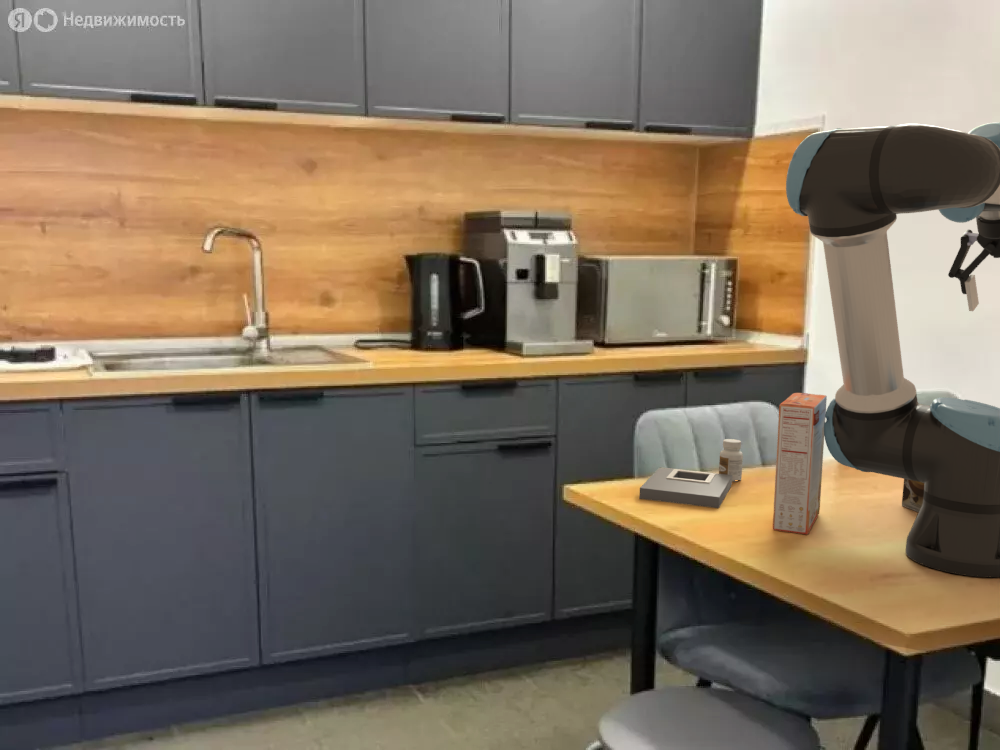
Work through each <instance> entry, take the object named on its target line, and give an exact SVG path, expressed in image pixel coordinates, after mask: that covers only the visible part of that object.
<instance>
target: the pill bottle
mask: <svg viewBox="0 0 1000 750" xmlns="http://www.w3.org/2000/svg"><path fill="white" fill-rule="evenodd" d="M722 448H723V449H722V450H721V451H720V453H719V465H718V474H727V475H732V482H736V481H735V480H740V481H741V480H742V475H743V460H744V459H743V458H744V457H743V456H744V454H743V452H742V451H741V449H742V441H741V440H739V439H733V438H726V439H723V441H722Z"/></svg>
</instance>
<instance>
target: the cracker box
mask: <svg viewBox="0 0 1000 750" xmlns="http://www.w3.org/2000/svg"><path fill="white" fill-rule="evenodd" d="M827 400H828V399H827V395H825V394H815V393H806V392H805V393H804V392H793V393H791V394H790V395H789V396H788V397H787V398H786V399H785V400H784V401H782V402H781V403H780V404H779V405H778V422H777V440H776V441H777V442H776V444H777V445H776V459H775V475H774V476H775V477H774V478H775V479H774V497H773V517H772V531H777V532H785V533H792V534H799V535H809V533H810V531H811V529H812V528H813V526H814V524H815V522H816V520H817V519H818V516H819V514H820V510H821V497H822V496H821V495H822V494H821V493H822V482H823V481H822V479H823V478H822V477H823V464H824V463H823V461H824V460H823V459H824V449H825V448H824V446H825V445H824V444H825V436H824V423H825V422H826V417H825V414H826V411H827Z"/></svg>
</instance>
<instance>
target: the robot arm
mask: <svg viewBox="0 0 1000 750" xmlns="http://www.w3.org/2000/svg"><path fill="white" fill-rule="evenodd" d="M785 182H786V183H785V190H786V191H785V193H786V198H787V199H786V200H787V203H788V206H789V207H790V209H792V211H793V212H794V213H796V215H800V216H801V217H807V219H808V225H809V230H810V231H809V232H810V234H811V236H813V237H815V238H816V239H818V240H819V241H822V243H823V252H824V258H825V265H826V270H827V280H828V285H829V292H830V298H831V306H832V313H833V321H834V327H835V333H836V334H835V335H836V340H837V347H838V354H839V355H838V356H839V362H840V369H841V375H842V382H843V383H842V385H841V386H840V387H839V388H838V390H836V392H835V394H834V395H835V396H834V398H833V399H832V400H831V401H830V403H829V404H828V406H827V407H826V414H825V417H826V418H825V423H824V442H825V444H826V447H827V450H828V452H829V453H830V455H831V456H832V458H833V459H834V460H835V461H836V462H838V463H839V464H841V465H843V466H844V467H848V468H853V469H854V470H858V471H861V472H862V473H874V474H878V475H879V474H880V475H883V476H884V475H885V476H889V477H894V478H900V479H903V480H904V479H908V480H913V481H918V482H922V483H924V496H923V504H922V507H921V509H920V511H919V512H917V516H916V518H915V520H914V522H913V523H912V527H911V528H910V530H909V533H908V535H907V537H906V544H905V554H906V556H907V557H909V558H910V559H911V560H913V561H914V562H916V563H917V564H920V565H923V566H926V567H928V568H931V569H934V570H938V571H942V572H946V573H951V574H956V575H963V576H969V577H979V578H1000V407H998V406H995V405H990V404H987V403H983V402H980V401H975V400H970V399H961V398H957V397H947V396H946V397H936V398H934V399H933V400H932V402H931V403H930V405H928V404H924V403H923V404H922V403H919V402H918V396H917V388H916V386H915V384H914V383H913V382H912V381H910V380H908V379H907V378H905V376H904V369H903V361H902V351H901V342H900V335H899V334H900V333H899V326H898V317H897V310H896V300H895V292H894V283H893V275H892V268H891V267H892V265H891V257H890V249H889V241H888V231H889V229H890V228H892V226H893V225H894V224H895V223H896V221H897V218H898V216H897V215H898V214H900V215H901V214H914V213H923V212H931V211H939V213H940V214H941V215H942V216H943V217H944V218H945V219H947V220H948V221H951V222H955V223H962V224H964V223H968V222H971V221H972V220H974V219H975V221H976V227H977V232H978V233H974V232H973V230H971V229H967V230H965V232H963V234H962V236H961V237H960V247H959V250H958V252H957V253H956V256H955V258H954V260H953V262H952V265H951V267H950V269H949V271H948V274H947V276H948V277H949V278H952V279H954V278H955V279H958V281H959V283H960V289H961V293H962V295H966V300H967V306H968V312H974V311H975V309H976V308H977V307H978V305H979V304H980V303H979V296H978V295H979V294H978V289H977V282H976V275H975V274H972V273H973V272H974V271H975V270H976V269H977V268H978V267H979V265H981V263H982V262H984V261H985V260H986V258H987V257H988V256H989V255H990V256H991V257H993V258H994V259H1000V122H989V123H985V124H981V125H978V126H976V127H974V128H972V129H971V130H970V131H968V132H966V131H961V130H957V129H952V128H948V127H941V126H937V125H931V124H923V123H921V124H920V123H904V124H898V125H897V124H895V125H887V126H886V125H885V126H884V125H883V126H871V127H870V126H869V127H867V126H866V127H855V128H854V127H852V128H840V127H839V128H838V127H837V128H835V129H832V130H831V129H830V130H827V131H826V130H825V131H819V132H814V133H811V134H810V135H808V136H807V137H805V138H804V139H803V140H802V141H801V142H800V143H799V145H797V147H796V149H795V150H794V153H793V155H792V157H791V160H790V162H789V164H788V168H787V173H786V180H785ZM975 242H977V244H979V245H980V246H981V248H982V249H981V251H980V252H979V253H978V254H977V256H975V257H974V259H973V260H972V261H971V262H970V263H969V264H968V265H967V266H966V267H965V268H964V269H962V266H963V264H964V262H965V259H966V258H967V255H968V253H969V250H970V249H971V247H972V246H973V245H974V243H975Z"/></svg>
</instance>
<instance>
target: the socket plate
mask: <svg viewBox="0 0 1000 750" xmlns="http://www.w3.org/2000/svg"><path fill="white" fill-rule="evenodd" d="M731 485H732V486H733V481H732V475H727V474H719V472H718V473H716V472H709V471H708V472H707V471H697V470H691V469H690V470H688V469H679V468H671V467H670V468H669V467H662V466H661V467H660V466H659V467H658V469H656V470H655V471H654V473H653V474H651V476H649V478H648V479H646V481H645V482H644V483H643V484H642V485H641V486H640V487H639V495H638V496H639V500H648V501H653V502H654V501H656V502H664V503H672V504H681V505H687V506H697V507H704V508H705V507H706V508H712V509H713V508H714V509H719V508H720V507H721V505H722V503H723V502H724V500H725V498H726V496H727V494H728V492H730V489H731V488H730V487H732V486H731Z"/></svg>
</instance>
